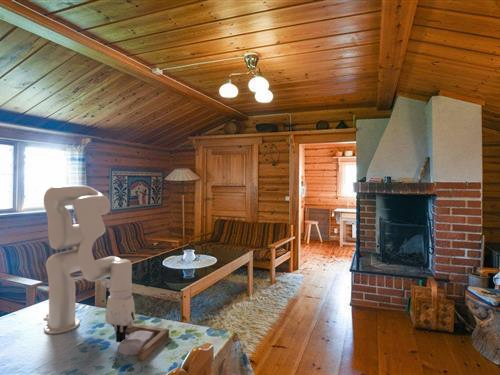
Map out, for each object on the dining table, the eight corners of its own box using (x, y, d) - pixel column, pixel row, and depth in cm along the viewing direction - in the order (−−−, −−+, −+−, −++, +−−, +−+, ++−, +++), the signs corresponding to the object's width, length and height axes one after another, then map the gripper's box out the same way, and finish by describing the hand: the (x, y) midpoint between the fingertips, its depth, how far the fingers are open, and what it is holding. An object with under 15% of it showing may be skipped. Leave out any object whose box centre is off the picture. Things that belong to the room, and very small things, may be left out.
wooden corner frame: (86, 349, 111) (86, 341, 110) (118, 328, 127) (118, 321, 127) (143, 360, 104) (143, 352, 104) (168, 336, 120) (169, 329, 120)
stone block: (116, 359, 108) (142, 355, 107) (114, 345, 108) (140, 342, 107) (132, 343, 120) (156, 339, 119) (130, 330, 120) (154, 327, 119)
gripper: (97, 294, 113) (97, 342, 113) (131, 298, 109) (131, 349, 109) (111, 287, 120) (111, 332, 120) (144, 291, 116) (143, 338, 116)
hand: (120, 340), depth 115 cm, fingers closed
